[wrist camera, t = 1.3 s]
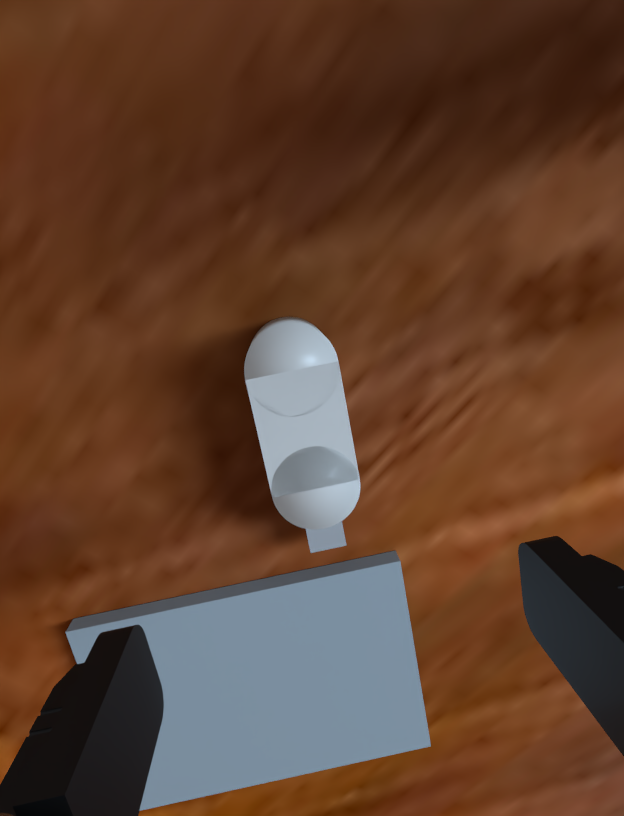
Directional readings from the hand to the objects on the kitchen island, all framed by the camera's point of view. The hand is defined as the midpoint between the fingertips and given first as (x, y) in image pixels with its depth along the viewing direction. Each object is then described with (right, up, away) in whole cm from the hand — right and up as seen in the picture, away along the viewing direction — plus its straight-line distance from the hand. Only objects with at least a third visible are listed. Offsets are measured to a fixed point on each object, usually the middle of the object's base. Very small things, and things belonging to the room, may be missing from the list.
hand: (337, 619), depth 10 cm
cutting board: (-4, -13, +22) cm, 26 cm away
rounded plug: (-1, +3, +18) cm, 18 cm away
